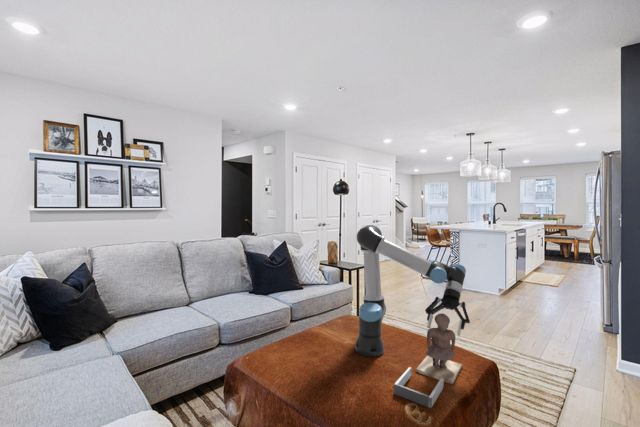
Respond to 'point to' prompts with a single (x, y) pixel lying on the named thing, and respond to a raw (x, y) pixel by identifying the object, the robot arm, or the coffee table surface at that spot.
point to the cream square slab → (439, 370)
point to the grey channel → (416, 395)
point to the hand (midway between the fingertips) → (443, 331)
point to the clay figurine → (440, 342)
